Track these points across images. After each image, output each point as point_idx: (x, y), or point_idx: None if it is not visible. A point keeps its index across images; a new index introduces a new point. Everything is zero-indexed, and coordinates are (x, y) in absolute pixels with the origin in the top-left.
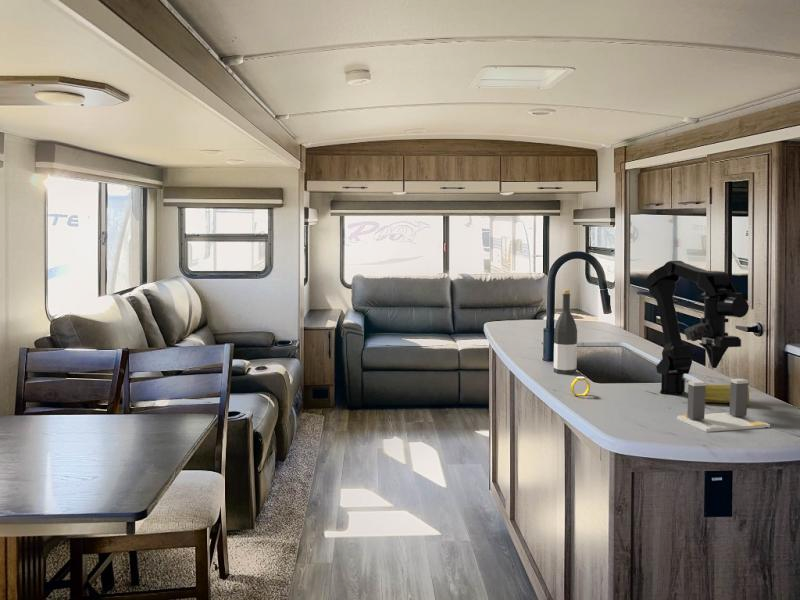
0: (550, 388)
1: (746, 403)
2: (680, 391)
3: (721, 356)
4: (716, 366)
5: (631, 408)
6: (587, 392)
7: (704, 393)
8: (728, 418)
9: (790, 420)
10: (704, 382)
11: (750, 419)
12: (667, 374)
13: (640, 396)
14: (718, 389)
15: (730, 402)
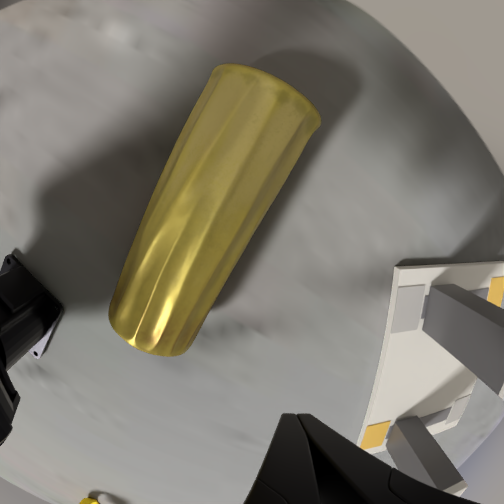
0: (49, 499)
1: (482, 300)
2: (42, 301)
3: (395, 482)
4: (315, 424)
5: (223, 496)
6: (92, 502)
7: (450, 464)
8: (438, 347)
9: (476, 139)
10: (464, 488)
11: (469, 286)
12: (16, 395)
13: (84, 427)
14: (223, 261)
15: (449, 350)
